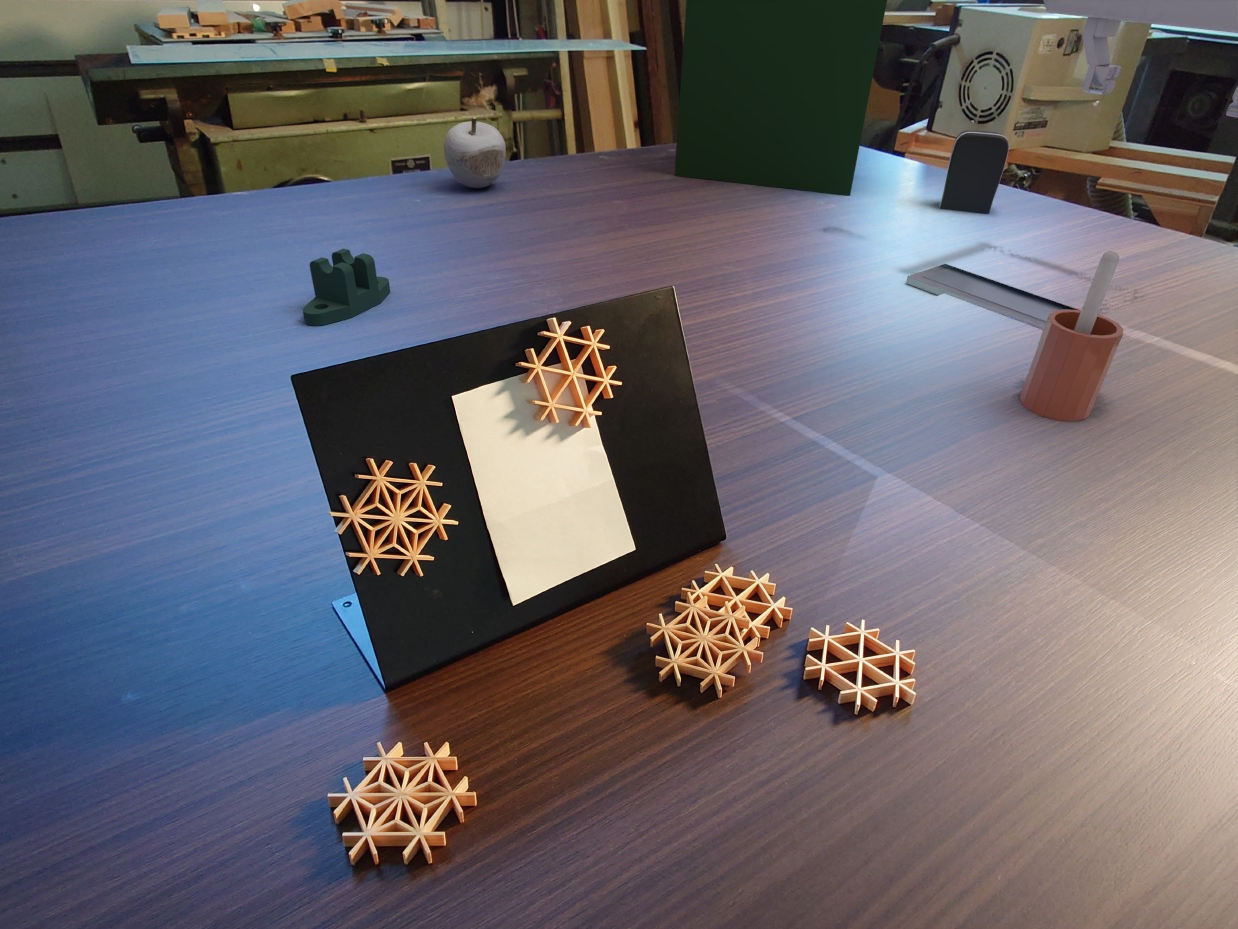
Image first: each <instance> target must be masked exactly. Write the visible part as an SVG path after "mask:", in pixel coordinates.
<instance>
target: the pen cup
mask: <svg viewBox="0 0 1238 929" xmlns="http://www.w3.org/2000/svg"><path fill="white" fill-rule="evenodd" d="M1081 310H1082V309H1078V310H1069V309H1068V310H1067V309H1066V310H1056V311H1054V312H1051V313H1050V314H1049V316H1048V319H1047V321H1046V324H1045V327H1044V330H1043V329H1042V333H1041V336H1040V339H1039V340H1038V341H1039V342H1038V344H1037V347H1036V350H1035V352H1034V356H1033V359H1032V360H1031V364H1030V367H1029V370H1028V373H1027V375H1026V378H1025V380H1024V384H1023V387H1022V389H1021V392H1020V395H1019V401H1020V403H1021V404H1022V405H1023V406H1024V408H1025V409H1027V410H1029V411H1030V412H1032V413H1033V414H1035V415H1039V416H1041V417H1042V418H1043V417H1044V418H1046V419H1050V420H1054V421H1058V422H1067V423H1068V422H1069V423H1071V422H1080V421H1083V420H1086V419H1088V417H1089V416H1091V412H1092V410H1093V408H1094V406H1095V403H1096V400H1097V399H1098V395H1099V393H1100V391H1101V389H1102V386H1103V383H1104V381H1105V379H1106V377H1107V374H1108V371H1109V369H1110V367H1111V364H1112V362H1113V360H1114V358H1115V355H1116V352H1117V350H1118V348H1119V345H1120V344H1121V340H1122V339H1123V335H1124V331H1125V330H1124V327H1122V325H1121V324H1120V323H1118V322H1117V321H1115V320H1113V319H1111V318H1109V317H1108V316H1104V315H1101V314H1099V313H1098V316H1097V318H1096V321H1095V323H1094V326H1093V328H1092V331H1091V334H1090V335H1089V334H1084V333H1080V332H1076V331H1074V329H1075V326H1076V323H1077V321H1078V318H1079V315H1080V313H1081Z"/></svg>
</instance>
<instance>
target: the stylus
mask: <svg viewBox="0 0 1238 929" xmlns="http://www.w3.org/2000/svg"><path fill="white" fill-rule="evenodd" d="M1119 262H1120V255H1119V254H1118V253H1117V252H1116V251H1113V250H1109V251H1106V252H1104V253H1103V254H1102V255H1101V258H1100V260H1099V262H1098V265H1097V267H1096V270H1095V273H1094V276H1093V278H1092V281H1091V283H1090V286H1089V289H1088V292H1087V294H1086V297H1085V300H1084V302H1083V305H1082V308H1081V309H1080V310H1081V313H1080V315H1079V318H1078V321H1077V323H1076V326H1075V329H1074V331H1076V332H1080V333H1084V334H1089V335H1090V334H1091V331H1092V328H1093V326H1094V323H1095V321H1096V318H1097V316H1098V314H1099V313H1100V311H1101V308H1102V305H1103V302H1104V301H1105V297H1106V295H1107V292H1108V289H1109V287H1110V285H1111V283H1112V280H1113V277H1114V275H1115V272H1116V269H1117V267H1118V264H1119Z"/></svg>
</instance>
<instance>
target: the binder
mask: <svg viewBox="0 0 1238 929" xmlns="http://www.w3.org/2000/svg"><path fill="white" fill-rule="evenodd" d="M887 3H888V0H685V14H684V30H683V41H682V56H681V57H682V58H681V60H682V61H681V74H680V88H679V100H678V101H679V102H678V116H677V117H678V118H677V132H676V144H675V145H676V147H675V160H674V161H675V162H674V176H676V177H685V178H686V177H687V178H694V179H701V180H703V179H704V180H711V181H719V182H729V183H736V184H737V183H738V184H745V185H753V186H754V185H755V186H764V187H772V188H780V189H787V190H797V191H805V192H806V191H807V192H815V193H823V194H824V193H825V194H832V195H840V194H841V195H840V196H848V195H850V196H851V193H852V187H853V182H854V177H855V172H856V166H857V161H858V157H859V156H858V155H859V152H860V147H861V146H860V145H861V140H862V135H863V130H864V124H865V119H866V115H867V110H868V103H869V99H870V93H871V88H872V84H873V78H874V71H875V66H876V62H877V55H878V51H879V47H880V46H879V45H880V41H881V40H880V39H881V34H882V30H883V25H884V19H885V13H886V8H887Z"/></svg>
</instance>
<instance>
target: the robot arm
mask: <svg viewBox="0 0 1238 929" xmlns="http://www.w3.org/2000/svg"><path fill="white" fill-rule="evenodd" d="M1042 1H1043V4H1044V5H1043V6H1044V8H1045V10H1046V11H1047V13H1049V14H1055V15H1064V16H1074V17H1083V18H1086V21H1085V24H1084V28H1083V31H1082V34H1081V38H1082V42H1083V43H1082V44H1083V48H1084V52H1085V56H1086V57H1085V58H1086V62H1087V65H1088V68H1087V71H1086V74H1085V76H1084V80H1083V83H1082V86H1081V88H1082V92H1083V93H1087V94H1095V95H1100V96H1101V95H1102V96H1106V95H1110V94H1111V93H1112V92H1113V91H1114V89H1115V87H1116V84H1117V82H1116V79H1118V78H1119V76H1120V73H1121V70H1122V68H1123V66H1121V65H1116V64H1112V63H1111V55H1110V54H1111V53H1110V47H1109V39H1108V38H1110V37H1115V36H1117V34H1118V31H1119V29H1120V26H1121V23H1122V22H1130V23H1141V24H1148V25H1158V26H1167V27H1168V26H1169V27H1175V28H1176V27H1177V28H1187V29H1196V30H1205V31H1215V32H1222V33H1224V32H1225V33H1231V34H1232V33H1233V34H1238V0H1042ZM1231 98H1232V102H1231V103H1230V104H1228V107H1227V109H1226V113H1225V115H1226V116H1227V117H1232V118H1238V85H1237V86H1236V88H1235V90H1234V92H1233V94H1232V97H1231Z"/></svg>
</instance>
